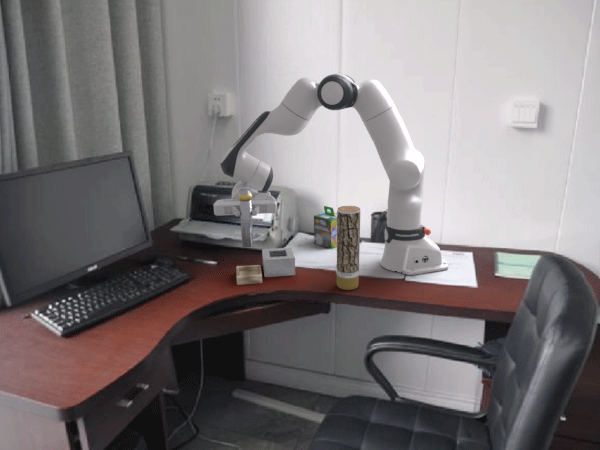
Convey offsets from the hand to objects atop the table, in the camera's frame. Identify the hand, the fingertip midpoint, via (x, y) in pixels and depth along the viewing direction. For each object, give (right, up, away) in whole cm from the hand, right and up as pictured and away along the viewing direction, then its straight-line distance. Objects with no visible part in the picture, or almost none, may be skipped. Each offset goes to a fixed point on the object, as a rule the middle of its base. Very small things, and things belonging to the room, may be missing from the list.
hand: (246, 213), depth 155 cm
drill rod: (0, -10, +4) cm, 11 cm away
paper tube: (+31, -23, +1) cm, 39 cm away
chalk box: (+28, -11, +38) cm, 48 cm away
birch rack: (0, -21, +8) cm, 22 cm away
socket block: (+9, -19, +13) cm, 25 cm away
